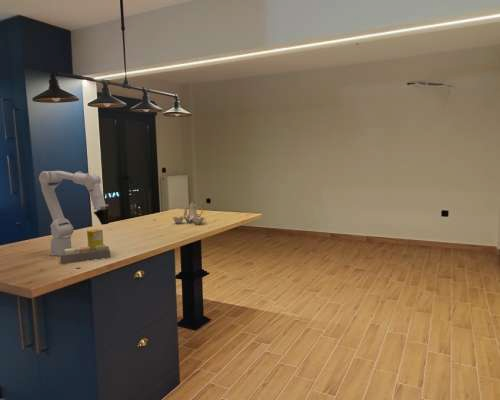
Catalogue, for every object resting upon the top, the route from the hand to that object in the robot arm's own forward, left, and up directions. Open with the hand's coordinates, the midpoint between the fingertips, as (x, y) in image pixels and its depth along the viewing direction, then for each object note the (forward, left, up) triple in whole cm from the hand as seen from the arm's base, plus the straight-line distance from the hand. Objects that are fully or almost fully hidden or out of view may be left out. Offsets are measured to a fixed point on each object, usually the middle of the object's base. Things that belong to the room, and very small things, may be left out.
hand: (105, 224), depth 190 cm
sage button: (-3, -1, -14) cm, 14 cm away
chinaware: (+9, +99, -17) cm, 101 cm away
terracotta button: (-9, -5, -14) cm, 17 cm away
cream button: (-15, -9, -14) cm, 22 cm away
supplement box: (-15, +13, -17) cm, 26 cm away
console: (-9, -5, -16) cm, 19 cm away
